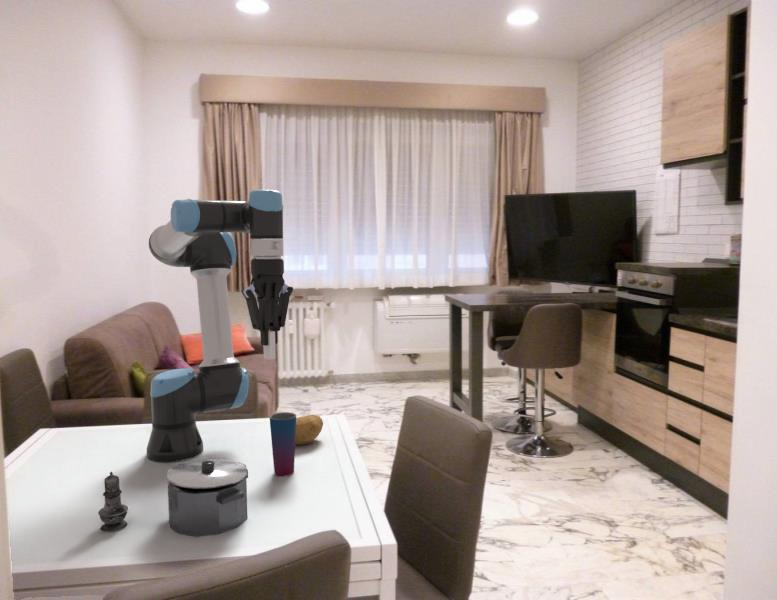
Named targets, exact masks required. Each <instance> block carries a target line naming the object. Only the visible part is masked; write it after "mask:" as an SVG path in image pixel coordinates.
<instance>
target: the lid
mask: <svg viewBox="0 0 777 600" xmlns="http://www.w3.org/2000/svg"><path fill="white" fill-rule="evenodd" d="M247 470H248V468H247V465H246V464H245V463H241V462H239V461H234V460H230V459H224V458H223V459H222V458H206V459H204V458H203V459H195V460H190V461H185V462H182V463H179V464H176V465H174V466H173V467H170V468H169V469H168V471H167V473H166V479H167V482H168V483H169V482H170V483H171V484H173V485H176V486H179V487H184V488H193V489H208V488H218V487H224V486H228V485H232V484H234V483H237V482H239V481H241V480H243V479H244V478H245V477H246V476H247Z"/></svg>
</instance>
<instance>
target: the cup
mask: <svg viewBox="0 0 777 600" xmlns="http://www.w3.org/2000/svg"><path fill="white" fill-rule="evenodd" d="M296 418H297V414H296V413H293V412H285V411H284V412H281V411H280V412H276V413H273V414H270V415H269V429H270V437H271V448H272V449H271V450H272V460H273V472H274V474H275V476H280V477H286V476H287V477H288V476H291V475H293V474H294V472H295V457H296V456H295V455H296V454H295V453H296V444H295V435H296Z"/></svg>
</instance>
